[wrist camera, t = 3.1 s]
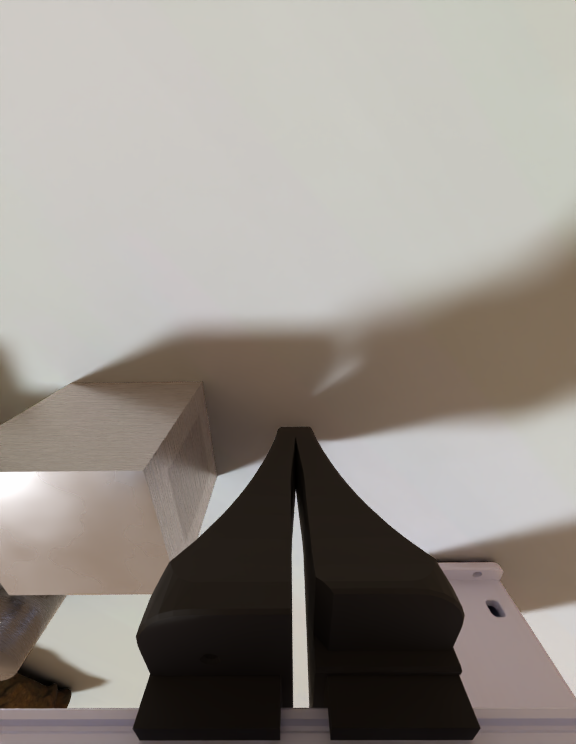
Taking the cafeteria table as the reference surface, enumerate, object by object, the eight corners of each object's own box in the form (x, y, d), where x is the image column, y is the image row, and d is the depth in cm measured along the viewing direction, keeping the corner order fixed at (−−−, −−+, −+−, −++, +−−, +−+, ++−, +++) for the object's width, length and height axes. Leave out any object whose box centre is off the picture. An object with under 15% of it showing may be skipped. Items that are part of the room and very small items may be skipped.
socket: (61, 546, 16) (-12, 641, 12) (85, 591, 18) (28, 687, 14) (-14, 547, 16) (-111, 641, 12) (17, 592, 18) (-59, 688, 14)
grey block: (202, 380, 12) (142, 470, 7) (217, 474, 14) (179, 593, 9) (71, 382, 12) (-79, 472, 7) (106, 476, 14) (8, 595, 9)
